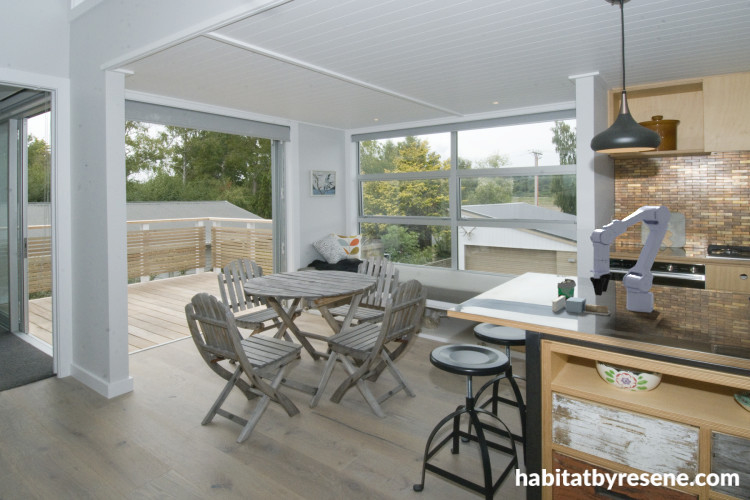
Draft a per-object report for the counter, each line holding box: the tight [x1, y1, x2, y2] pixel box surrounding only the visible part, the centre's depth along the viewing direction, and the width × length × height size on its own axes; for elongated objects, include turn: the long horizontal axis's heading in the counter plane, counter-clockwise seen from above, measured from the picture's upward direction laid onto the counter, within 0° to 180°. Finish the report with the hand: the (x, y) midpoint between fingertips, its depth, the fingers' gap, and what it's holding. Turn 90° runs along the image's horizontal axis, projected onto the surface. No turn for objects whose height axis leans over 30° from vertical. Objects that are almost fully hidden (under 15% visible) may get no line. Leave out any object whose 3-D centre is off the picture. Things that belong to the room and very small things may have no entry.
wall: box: [551, 296, 566, 313], centre depth 197 cm, size 2×12×6 cm, turn 141°
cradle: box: [582, 310, 611, 316], centre depth 188 cm, size 9×5×2 cm, turn 51°
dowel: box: [584, 303, 609, 315], centre depth 188 cm, size 8×3×3 cm, turn 51°
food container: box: [557, 278, 577, 303], centre depth 211 cm, size 12×6×10 cm, turn 143°
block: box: [565, 296, 587, 314], centre depth 193 cm, size 6×7×6 cm
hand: (600, 293), depth 186 cm, fingers open, 7 cm apart
